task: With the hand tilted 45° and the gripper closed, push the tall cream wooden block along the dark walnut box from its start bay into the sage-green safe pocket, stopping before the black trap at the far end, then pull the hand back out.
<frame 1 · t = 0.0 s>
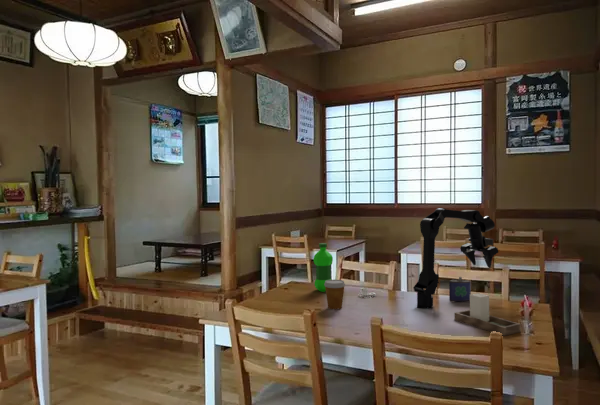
hand: (482, 266, 214), 15 cm above the table, tool pointing down, fingers open, 9 cm apart
flask: (460, 301, 210), on the table
disposable coffee cup: (334, 308, 201), on the table
teacup and saucer: (368, 298, 220), on the table
cream block: (479, 307, 174), point 6 cm above the table, slide at -3.0 cm
plastic bottle: (323, 290, 236), on the table
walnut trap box: (486, 325, 172), on the table
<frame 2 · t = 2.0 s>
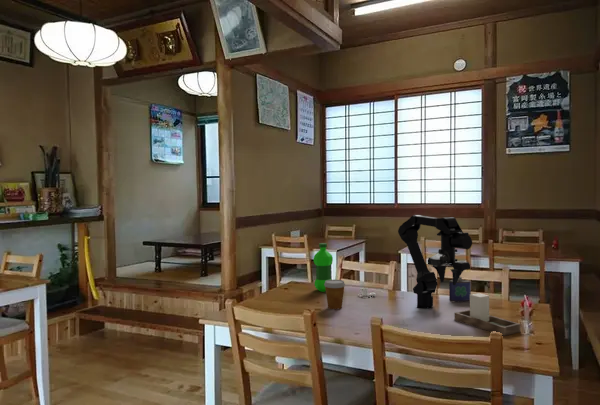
hand: (448, 283, 188), 13 cm above the table, tool pointing down, fingers open, 6 cm apart
nothing on the table moved.
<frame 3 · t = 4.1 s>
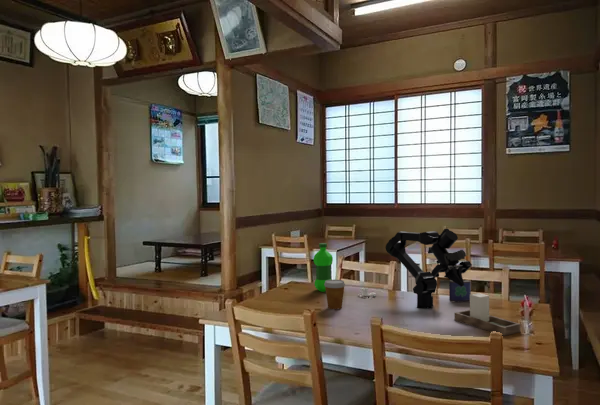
hand: (462, 285, 181), 14 cm above the table, tool tilted 45°, fingers closed
nothing on the table moved.
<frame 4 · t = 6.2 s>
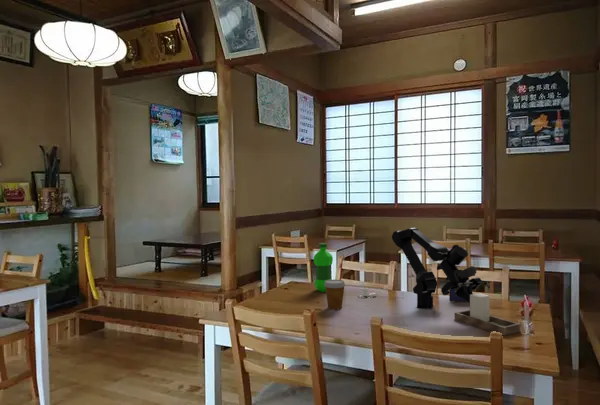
hand: (473, 303, 177), 7 cm above the table, tool tilted 45°, fingers closed, pressing on cream block
cream block: (479, 307, 174), point 6 cm above the table, slide at -2.9 cm, touching gripper
everything else where it was.
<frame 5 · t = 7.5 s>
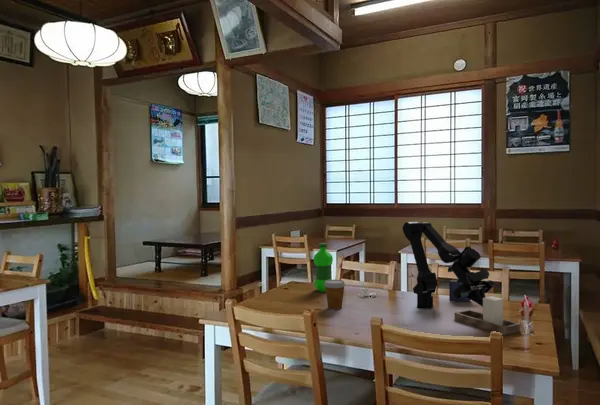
hand: (486, 307, 171), 7 cm above the table, tool tilted 45°, fingers closed
cream block: (492, 311, 169), point 6 cm above the table, slide at 3.2 cm
everything else where it was.
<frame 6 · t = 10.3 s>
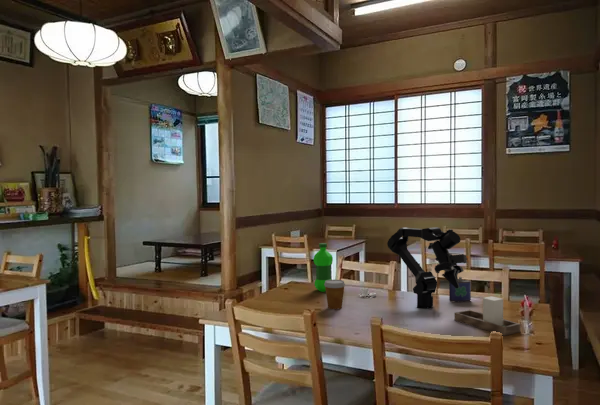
hand: (457, 288, 184), 12 cm above the table, tool tilted 35°, fingers closed
nothing on the table moved.
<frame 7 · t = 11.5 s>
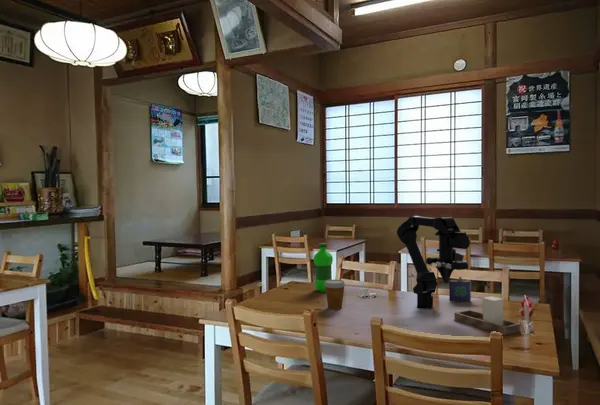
hand: (446, 283, 189), 13 cm above the table, tool pointing down, fingers closed
nothing on the table moved.
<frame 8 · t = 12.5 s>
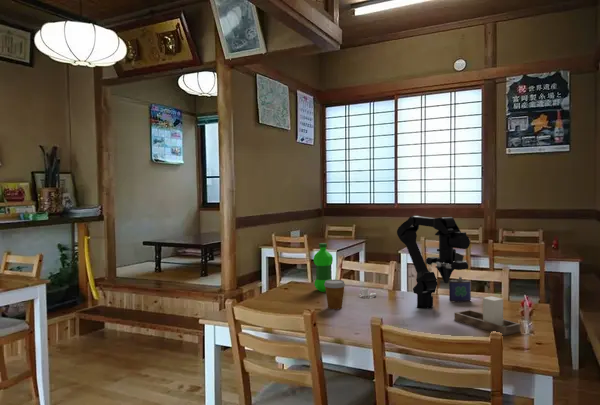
hand: (446, 283, 189), 13 cm above the table, tool pointing down, fingers closed
nothing on the table moved.
at the end: cream block slide at 3.2 cm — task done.
